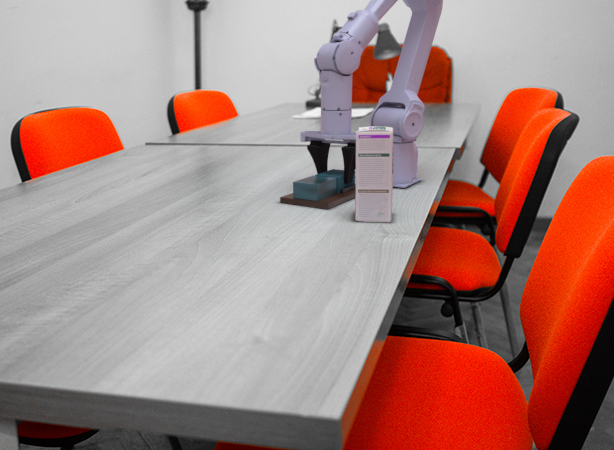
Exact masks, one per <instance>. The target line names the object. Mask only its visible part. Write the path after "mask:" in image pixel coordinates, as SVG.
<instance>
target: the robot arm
mask: <svg viewBox="0 0 614 450" xmlns="http://www.w3.org/2000/svg"><path fill="white" fill-rule="evenodd" d="M398 1H399V0H370V1H369V2H368V4H366V7H364V9H357V10H355V11H353V12H349V14H348V15H347V16H346V18H347V21H346V22H345V23H344V24H343V25H342V27H341V28H340V29H339V30H338V31H337V32H335V33H334V34H333V35H332V39H331V41H330V42H326V43H323V44H322V45H321V47H320V48H319V49H318V51H317V53H316V57H314V59H313V62H314V67H315V69H316V71H317V72H318V75H319V78H318V79H319V82H320V130H303V131H300V142H301V143H306V142H307V143H308V142H309V144H308V145H306V149H307V151H308V153H309V154H310V157H311V160H312V161H313V163H314V167H315V170H316V175H317V174H320V173H323V172H326V171H329V169H328V168H329V167H328V164H329V163H328V161H329V154H330V150H331V144H335V145H345V146H341V148H340V149H341V154H342V161H343V170H344V183H345V184H349V183H351V182H352V180H353V176H354V172H355V173H356V132H352V117H353V115H352V114H353V112H352V111H353V110H352V109H353V108H352V107H353V73H354V72H355V71H356V70H358V69H359V67H360V65H361V56H362V55H363V52H364V51H365V49H366V48H367V47H368V46H369V44H370V43H371V42H372V40H373V39H374V38H375V37H376V35H377V34H378V33H379V30H380V23H379V22H380V21H381V20H382V18H383V17H384V16H385V15H386V14H387V13H388V12H389V11H390V9H392V7H394V5H395V4H396V3H397V2H398ZM402 2H403V3H404V5H405V6H406V7H408V8H409V9H410V11H411V16H410V20H409V23H408V27H407V30H406V33H405V37H404V41H403V44H402V47H401V51H400V54H399V58H398V60H397V61H398V62H397V65H396V67H395V71H394V76H393V79H392V83H391V86H390V88H389V90H387V92H385V93H384V94H383V95H382V96H381V97H379V99H378V102H377V105H376V107H375V108H374V110H373V111H372V112H371V114H370V118H369V126H386V127H393V188H401V189H405V188H407V187H410V186H411V185H414V184H416V183H418V182H420V181H422V177H418V165H419V164H418V163H419V161H418V160H419V149H418V146H417V144H416V143H415V142H417V138H418V137H419V136H420V134H421V133H422V131H423V128H424V127H423V126H424V112H425V109H426V105H425V104H424V103H423V101H422V100H421V99H420V98H419V96H418V94H419V91H420V88H421V84H422V80H423V77H424V75H425V70H426V67H427V63H428V60H429V56H430V54H431V50H432V46H433V43H434V39H435V36H436V32H437V29H438V26H439V22H440V20H441V19H440V18H441V15H442V11H443V5H444V0H402Z"/></svg>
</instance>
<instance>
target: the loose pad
mask: <svg viewBox="0 0 614 450" xmlns="http://www.w3.org/2000/svg"><path fill="white" fill-rule="evenodd" d="M314 176H322V177H331V178H336V193H340V192H341V189H343V188H345V187H348V186H350V185H353V184H355V183H356V171H355V172H354V176H353V180H352V182H351V183H349V184H345V183H344V169H336V168H332V169H328V171H326V172H323V173H320V174H317V173H316V174H315V175H314Z"/></svg>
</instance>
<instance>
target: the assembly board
mask: <svg viewBox="0 0 614 450" xmlns="http://www.w3.org/2000/svg"><path fill="white" fill-rule="evenodd" d="M355 187H356V182H355V184H353V185H350V186H348V187H345V188H343V189H341V192H340V193H336V178H331V177H322V176H315V175H310V176H307V177H304V178H301V179H297V180H294V181H293V182H292V192H291V193H289V194H285V195H282V196H280V197H279V203H282V204H289V205H294V206H302V207H310V208H317V209H323V210H330V209H332V208H335V207H337V206H340V205H342V204H344V203H346V202H348V201H351V200H353V199H355Z"/></svg>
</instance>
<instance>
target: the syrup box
mask: <svg viewBox="0 0 614 450" xmlns="http://www.w3.org/2000/svg"><path fill="white" fill-rule="evenodd" d="M355 133H356V169H355V183H356V187H355V198H354V199H355V205H354V206H355V207H354V208H355V209H354V210H355V212H354V213H355V218H354V221H356V222H365V223H391V222H392V216H393V189H394V187H393V127H386V126H370V125H368V126H359V127H358V129H357V130H356V131H355Z"/></svg>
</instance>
